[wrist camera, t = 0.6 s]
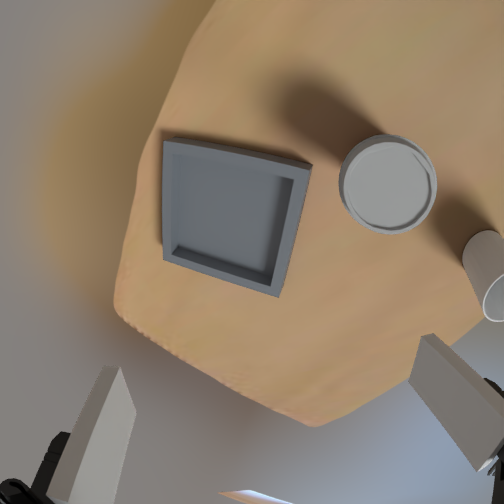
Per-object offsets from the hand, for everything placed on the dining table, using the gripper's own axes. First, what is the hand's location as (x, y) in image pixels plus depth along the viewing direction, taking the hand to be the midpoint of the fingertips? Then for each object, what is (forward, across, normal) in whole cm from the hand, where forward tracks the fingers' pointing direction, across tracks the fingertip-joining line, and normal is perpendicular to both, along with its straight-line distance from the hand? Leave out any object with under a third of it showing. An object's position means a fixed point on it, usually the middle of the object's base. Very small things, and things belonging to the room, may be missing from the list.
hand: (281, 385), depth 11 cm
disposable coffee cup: (+24, +17, +10) cm, 31 cm away
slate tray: (+34, -1, +2) cm, 34 cm away
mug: (+19, +36, -3) cm, 41 cm away
